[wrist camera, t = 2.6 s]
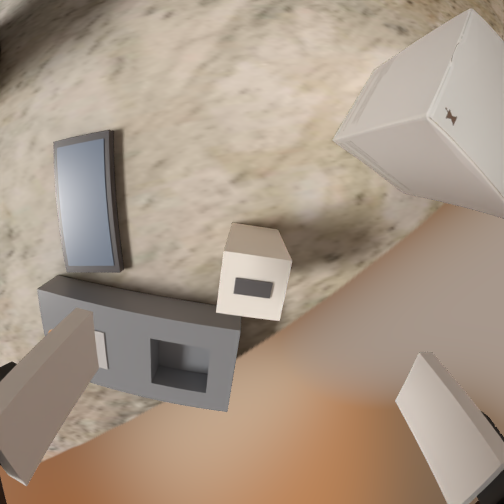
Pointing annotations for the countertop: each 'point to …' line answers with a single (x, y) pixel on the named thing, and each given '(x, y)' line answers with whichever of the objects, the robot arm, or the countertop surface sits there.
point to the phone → (87, 203)
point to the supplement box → (437, 117)
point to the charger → (253, 273)
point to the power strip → (152, 341)
